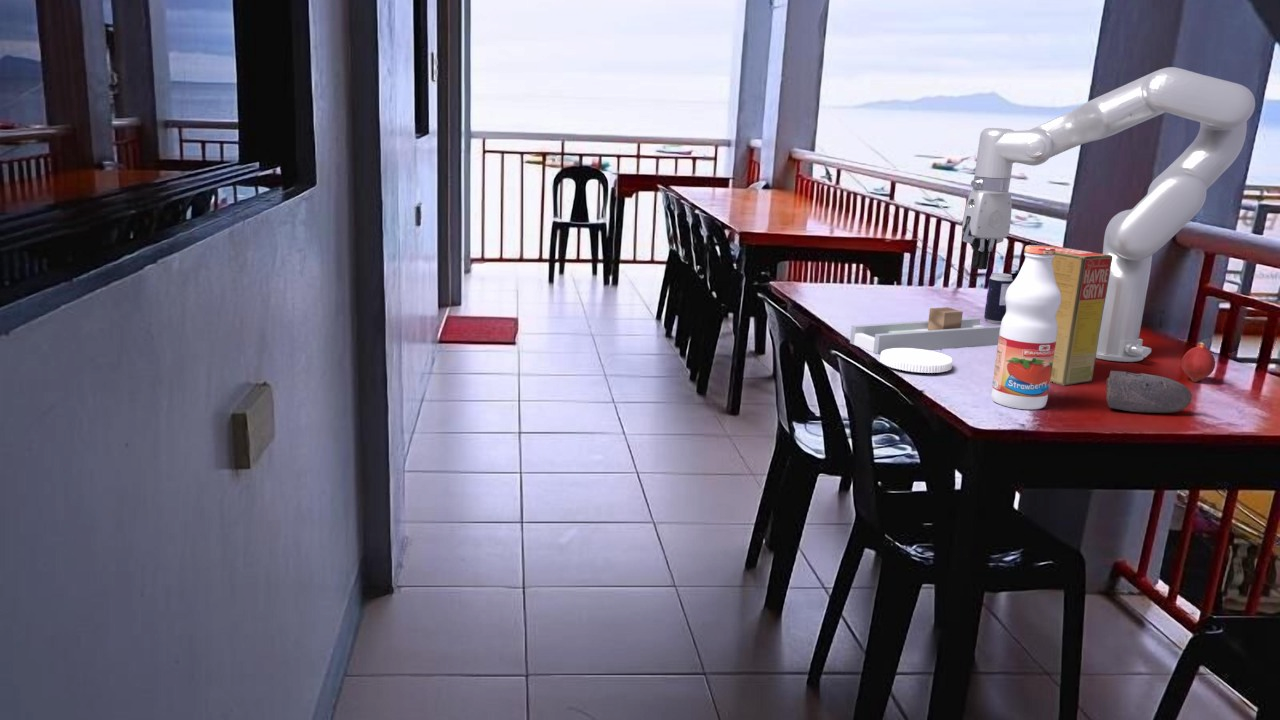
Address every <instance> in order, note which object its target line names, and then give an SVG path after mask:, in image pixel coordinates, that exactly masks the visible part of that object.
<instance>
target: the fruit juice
mask: <svg viewBox="0 0 1280 720" xmlns="http://www.w3.org/2000/svg"><path fill="white" fill-rule="evenodd" d="M1023 250H1024V251H1023V252H1024V253H1023V255H1024V257H1025V258H1024V261H1023V263H1022V266H1021V268H1020V270H1019V272H1018V274H1017V276H1016V277H1015V278H1014V279H1013V282H1012V283H1011V285H1010V286H1009V287H1008V289H1007V291H1006V295H1005V303H1006V313H1005V315H1004V317H1003V319H1002V322H1001V324H1000V325H999V326H1000V332H999V340H998V345H997V349H996V356H995V364H994V369H993V370H994V371H993V379H992V385H991V396H990V397H991V399H992V402H994V403H997V404H999V405H1001V406H1004V407H1008V408H1012V409H1018V410H1040V409H1043V408H1045V407H1046V405H1047V402H1048V400H1049V399H1048V398H1049V392H1050V385H1051V384H1050V383H1051V382H1050V379H1051V372H1052V366H1053V359H1054V352H1055V346H1056V340H1057V330H1058V325H1057V321H1056V314H1057V312H1058V310H1059V308H1060V305H1061V298H1062V297H1061V292H1060V290H1059V288H1058V286H1057V283H1056V280H1055V276H1054V271H1053V266H1052V259H1053V258H1054V255H1055V248H1053V247H1048V246H1047V245H1037V244H1036V245H1035V244H1031V245H1030V244H1029V245H1026V246H1025V247H1024V249H1023Z"/></svg>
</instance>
